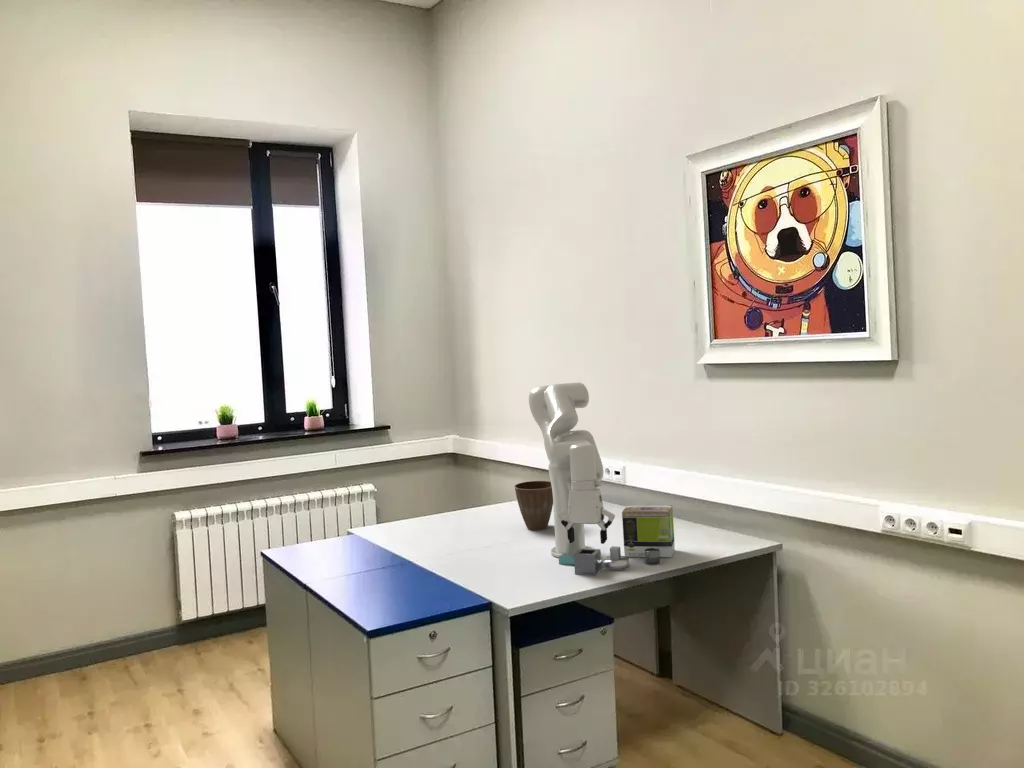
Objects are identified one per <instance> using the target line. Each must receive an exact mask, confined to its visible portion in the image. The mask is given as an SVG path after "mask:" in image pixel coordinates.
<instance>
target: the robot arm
mask: <svg viewBox="0 0 1024 768" xmlns="http://www.w3.org/2000/svg"><path fill="white" fill-rule="evenodd" d="M589 402H590V395H589V390H588V388H587V386H586V385H585V384H584V383H582V382H567V383H556V384H552V385H551V384H550V385H541V386H538V387H534V388H533V389H532V390H531V391H530V392H529V395H528V404H529V410H530V413H531V415H532V418H533V419H534V421H535V422H536V424H537V425H538V428H540V432H541V434H542V437H543V444H544V449H545V452H546V457H547V460H548V461H549V463H548V475H549V480H550V481H549V482H551V486H552V493H553V520H554V522H553V523H554V541H555V546H554V547H553V548H551V550H550V554H551V556H554V557H556V558H559V556H561V555H562V554H570V555H574V554H575V553H576V552H577V551H578V550H579V549H580V548H582V549H591V548H590V547H589V546H587V545H586V542H585V541H586V540H585V538H586V536H585V525H597V526H598V527H599V528H600V531H599V536H600V537H599V538H600V544H601V545H604V544H605V543H606V542H607V541H608V530H607V529H608V528H609V527H610V526H611V525H612V523H613V521H614V519H615V517H616V514H614V513H612V512H611V511H609V510H607V509H605V508H604V500H603V497H602V491H601V489H600V488H598V487H601V486H602V480H603V478H604V466H603V465H604V464H603V461H602V458H601V456H600V453H599V450H598V446H597V445H596V444H597V443H596V441H595V439H594V436H593V434H591V432H590V431H588V430H584V429H578V430H577V429H576V430H572V429H574V428H575V427H576V426H577V425H578V422H579V415H578V413H577V410H576V409H583V408H586V407H587V406H588V404H589ZM605 516H606V517H608V519H607V521H606V522H605Z"/></svg>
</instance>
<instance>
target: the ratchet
mask: <svg viewBox="0 0 1024 768" xmlns="http://www.w3.org/2000/svg"><path fill="white" fill-rule="evenodd" d="M621 553H622V552H621V546H615V545H614V546H611V547H609V555H607V556H604V557H603V558H601V568H602V569H603V570H605V571H611V572H616V571H617V572H619V571H624V570H625V571H626V570H628V569H629V568H630V557H626V556H625V555H621ZM558 564H559V565H568V566H569V565H570V566H574V555H570V554H562V555H561V556H559V557H558Z"/></svg>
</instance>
